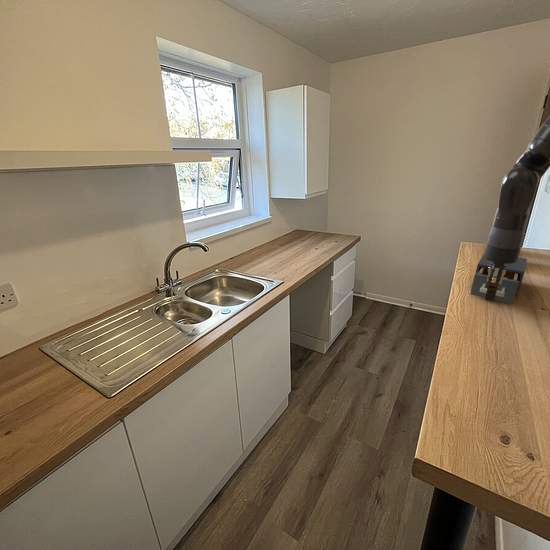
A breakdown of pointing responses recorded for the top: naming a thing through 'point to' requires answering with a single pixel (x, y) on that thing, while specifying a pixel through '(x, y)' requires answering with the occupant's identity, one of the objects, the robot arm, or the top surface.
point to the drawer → (504, 291)
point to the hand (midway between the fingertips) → (489, 299)
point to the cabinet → (514, 267)
